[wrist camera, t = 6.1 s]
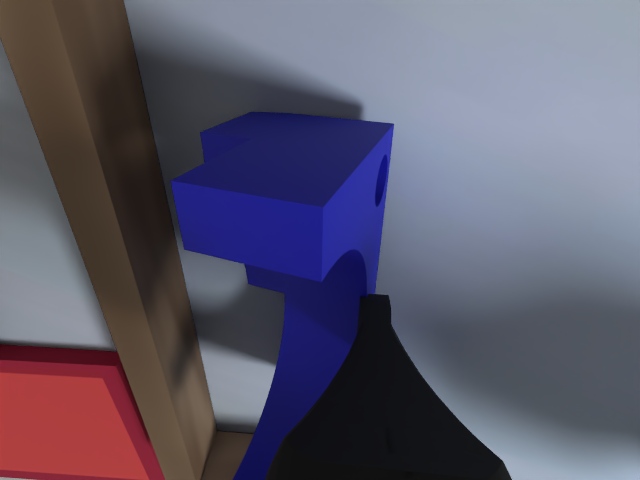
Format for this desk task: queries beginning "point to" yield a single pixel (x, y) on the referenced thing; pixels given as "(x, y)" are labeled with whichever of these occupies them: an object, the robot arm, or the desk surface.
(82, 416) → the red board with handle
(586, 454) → the desk surface
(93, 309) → the desk surface
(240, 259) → the blue curved bracket
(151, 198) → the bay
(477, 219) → the desk surface
